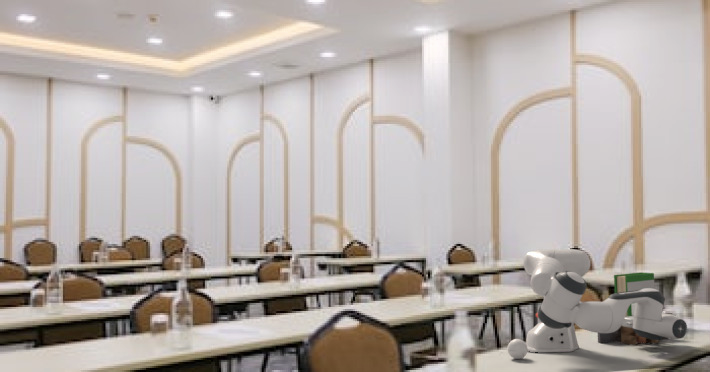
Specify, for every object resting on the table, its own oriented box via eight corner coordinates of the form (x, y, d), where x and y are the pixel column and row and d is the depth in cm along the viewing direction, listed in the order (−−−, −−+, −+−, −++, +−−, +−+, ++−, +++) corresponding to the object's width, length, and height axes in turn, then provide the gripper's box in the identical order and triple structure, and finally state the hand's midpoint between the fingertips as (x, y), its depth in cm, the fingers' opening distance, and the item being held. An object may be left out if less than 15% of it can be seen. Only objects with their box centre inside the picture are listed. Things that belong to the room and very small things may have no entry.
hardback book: (629, 329, 326) (626, 275, 327) (616, 327, 332) (613, 275, 333) (656, 325, 334) (653, 273, 335) (643, 323, 340) (640, 272, 341)
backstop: (600, 343, 295) (599, 318, 295) (597, 342, 297) (596, 317, 297) (668, 338, 300) (667, 314, 300) (665, 337, 302) (664, 313, 302)
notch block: (630, 344, 289) (629, 324, 290) (621, 341, 296) (620, 322, 296) (658, 342, 291) (657, 322, 291) (648, 340, 298) (647, 320, 298)
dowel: (638, 343, 291) (638, 308, 291) (633, 341, 295) (633, 306, 295) (648, 343, 291) (647, 308, 291) (643, 341, 295) (642, 306, 295)
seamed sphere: (525, 356, 273) (524, 336, 274) (530, 360, 266) (529, 340, 266) (498, 357, 273) (497, 338, 273) (503, 361, 266) (502, 341, 266)
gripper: (631, 332, 280) (613, 327, 293) (680, 329, 283) (660, 324, 296) (630, 316, 280) (612, 311, 293) (679, 313, 283) (659, 309, 297)
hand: (637, 318), depth 295 cm, fingers open, 8 cm apart
